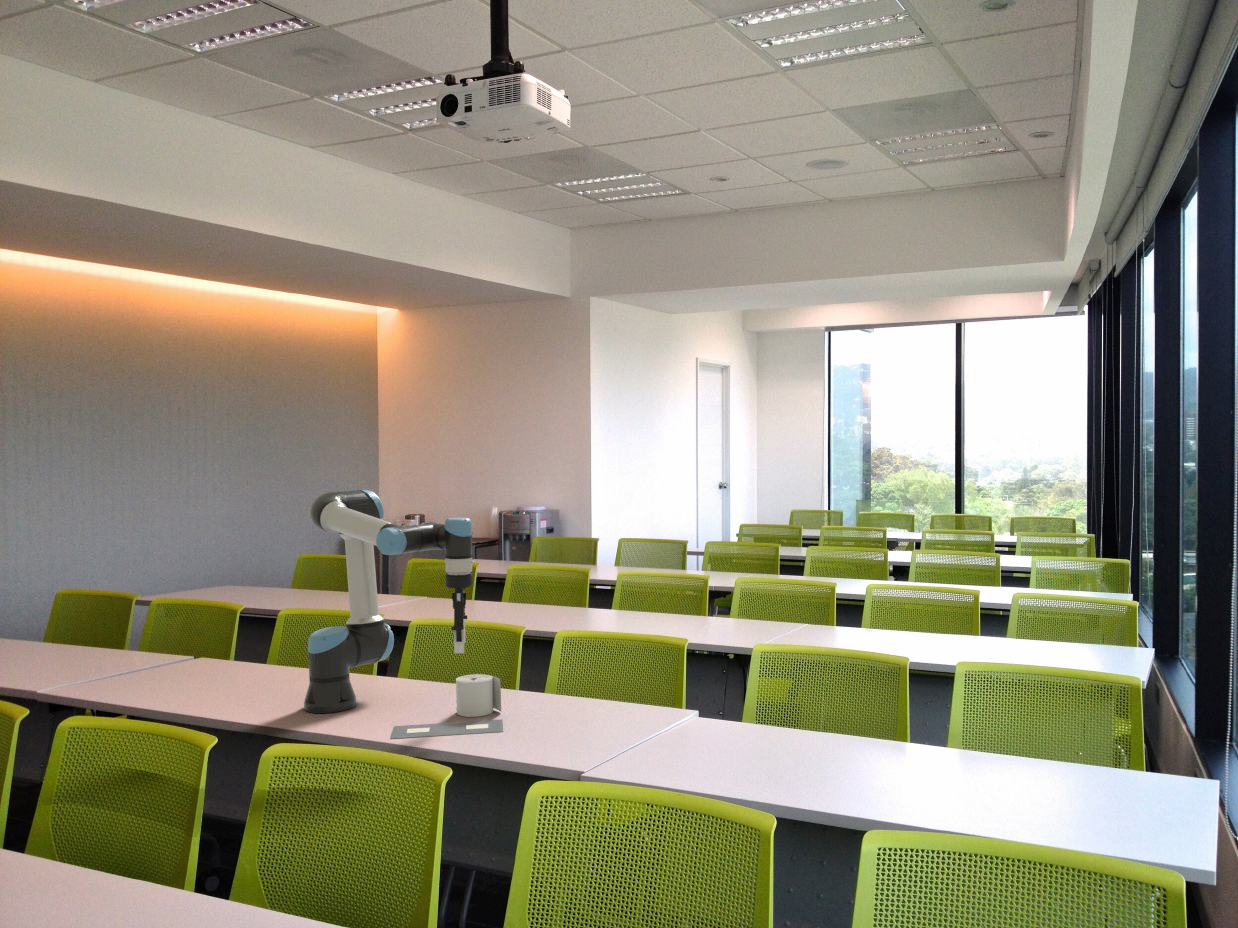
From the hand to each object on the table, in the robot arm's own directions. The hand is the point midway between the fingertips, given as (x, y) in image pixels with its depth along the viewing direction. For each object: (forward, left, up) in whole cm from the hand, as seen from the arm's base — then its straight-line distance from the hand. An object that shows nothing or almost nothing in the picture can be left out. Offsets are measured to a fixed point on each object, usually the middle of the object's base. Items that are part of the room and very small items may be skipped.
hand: (460, 647), depth 283 cm
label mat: (-4, -8, -21) cm, 22 cm away
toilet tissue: (+4, +8, -21) cm, 23 cm away
